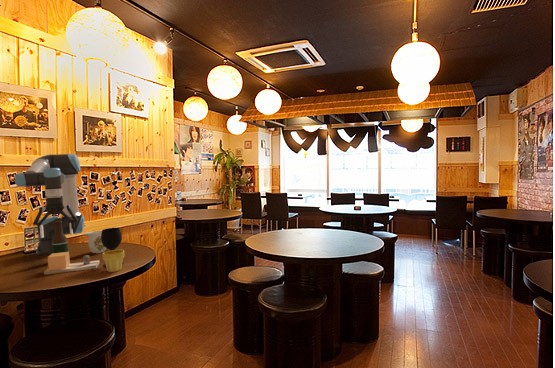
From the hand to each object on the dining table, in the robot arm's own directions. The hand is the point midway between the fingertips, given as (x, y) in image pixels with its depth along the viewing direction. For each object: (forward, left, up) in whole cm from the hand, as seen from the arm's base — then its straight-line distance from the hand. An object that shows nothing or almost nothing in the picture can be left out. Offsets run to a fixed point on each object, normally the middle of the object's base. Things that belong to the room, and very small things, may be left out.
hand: (57, 236), depth 181 cm
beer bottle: (-22, -4, -19) cm, 29 cm away
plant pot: (+14, +29, -19) cm, 37 cm away
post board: (0, +7, -18) cm, 20 cm away
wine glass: (+2, +27, -19) cm, 32 cm away
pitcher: (-35, +15, -19) cm, 42 cm away
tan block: (0, 0, -17) cm, 17 cm away
